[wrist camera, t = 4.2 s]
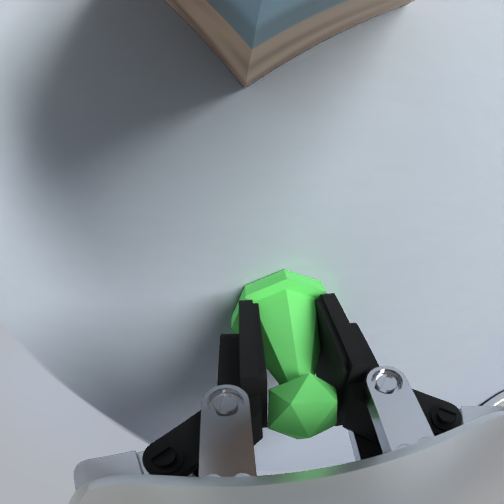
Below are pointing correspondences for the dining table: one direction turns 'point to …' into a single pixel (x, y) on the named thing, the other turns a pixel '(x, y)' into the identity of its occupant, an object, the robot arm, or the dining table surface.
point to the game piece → (292, 353)
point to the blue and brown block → (272, 28)
